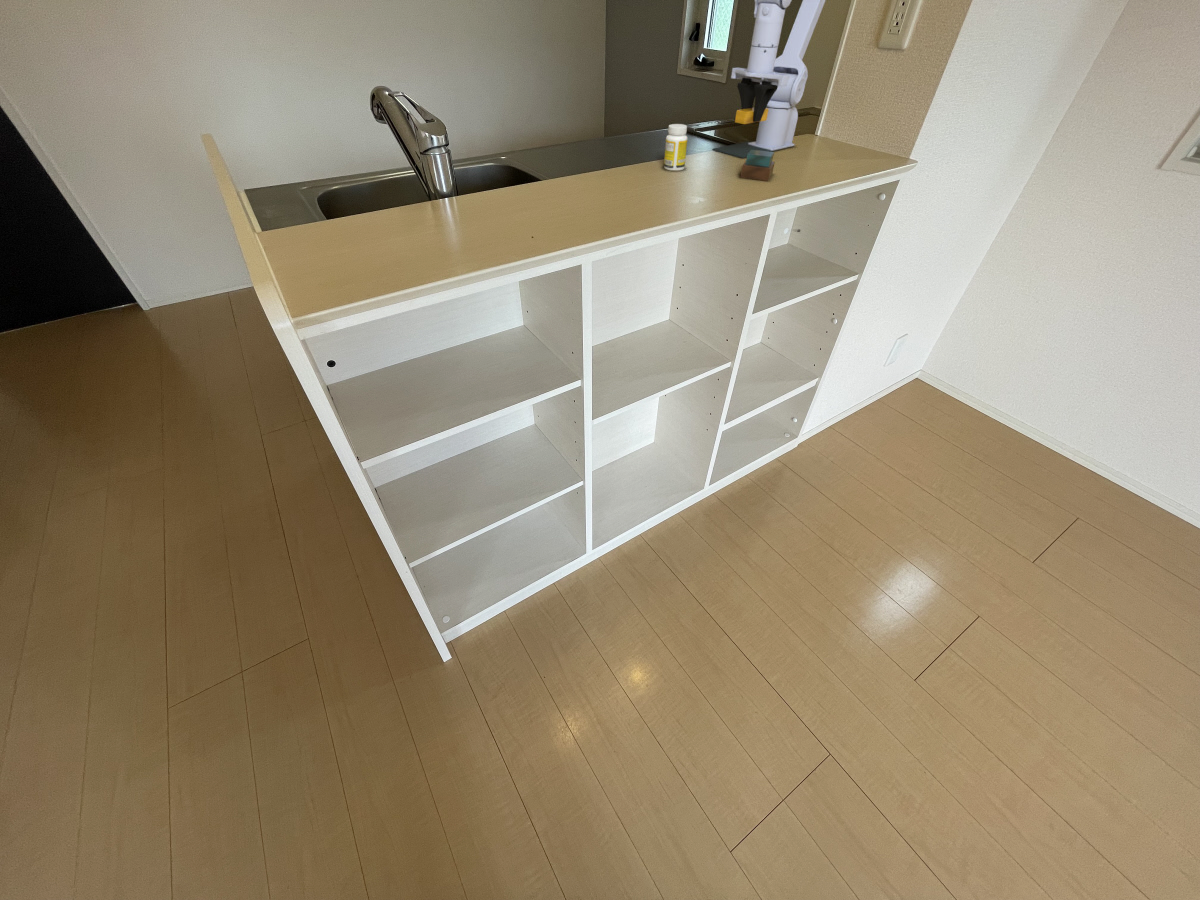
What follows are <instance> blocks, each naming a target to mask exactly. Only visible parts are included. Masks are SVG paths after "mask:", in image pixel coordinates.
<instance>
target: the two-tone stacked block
mask: <svg viewBox="0 0 1200 900" xmlns="http://www.w3.org/2000/svg"><path fill="white" fill-rule="evenodd" d="M774 154H775V151H773V152H768V151H759V150H751V151H750V152H749V153H748V154H747V157H746V158H745V161H744V163H743V164H742V166H741V171H740V178H741V179H746V180H747V179H748V180H755V181H763V182H768V181H769V180H770V178H771V177H772V175H773V172H774V168H775V161H774V159H773V158H774Z"/></svg>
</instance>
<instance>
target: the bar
mask: <svg viewBox="0 0 1200 900" xmlns="http://www.w3.org/2000/svg"><path fill="white" fill-rule="evenodd" d="M768 110H769V108H766V109H765V111H764V113H763V116H762V118H761V121H766V120H767V115H768ZM753 113H754V107H752V108H748V109H742V108H741V109H737V110H736V112H735V120H734V123H736V124H741V125H748V124H753V123H755V122H753ZM757 123H760V121H758V122H757Z"/></svg>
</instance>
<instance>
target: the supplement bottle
mask: <svg viewBox="0 0 1200 900" xmlns="http://www.w3.org/2000/svg"><path fill="white" fill-rule="evenodd" d="M687 130H688V126H687V125H686V124H684V123H672V124H669V125H668V129H667V131H668V132H667V133H668V134H667V135H666V137H665V145H664V159H663V168H664V169H665V170H667V171H672V172H678V171H683V170H684V169H685V166H686V158H687V157H686V156H687V146H688V135H686V134H687Z"/></svg>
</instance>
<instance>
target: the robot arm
mask: <svg viewBox="0 0 1200 900" xmlns="http://www.w3.org/2000/svg"><path fill="white" fill-rule="evenodd" d="M791 2H792V0H754V11H753V18H754V19H755V20H754V25H753V31H752V32H753V33H752V37H751V43H750V44H751V45H750V50H749V56H748V61H747V68H744V67H732V69H731V76H730V79H732V80H740V82H738V83H737V85H736V87H737V90H738V95H739V98H740V105H741V106H740V107H741V109H748V108H754V113H753V122H754V123H758V128H757V134H756V139H755V141H750V143H748V145H752V146H756V147H760V148H764V149H767V150H777V149H779V150H783V149H788V148H790V147H795V143H793V140H794V136H795V131H796V128H797V123H798V118H799V113H798V109H797V107H796V106H797V105H798V104H799V102H800V101H801V100H802V98H803V95H804V92H805V88H806V84H807V80H808V77H809V72H808V71H809V70H808V67H807V65H806V64H805V63H804V61H803V59H804V57H805V54H806V51H807V49H808V46H809V44H810V41H811V38H812V36H813V33H814V31H815V29H816V26H817V23H818V21H819V18H820V15H821V13H822V11H823V8H824V6H825V3H826V0H802V2H801V4H800V6H799V9H798V12H797V15H796V16H795V17H796V18H795V20H794V23H793V25H792V28H791V31H790V33H789V36H788V38H787V41H786V44H785V46H784V49H783V51H782V54H781V55H779V56H778V57H777V54H778V48H779V44H780V39H781V33H782V29H783V24H784V18H785V15H786V10H787V8H788V7H789V6H790V5H791ZM766 108H769V110H768V115H767V120H766V121H761V118H762V116H763V113H764V111H765V109H766ZM758 121H760V122H758Z"/></svg>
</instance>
